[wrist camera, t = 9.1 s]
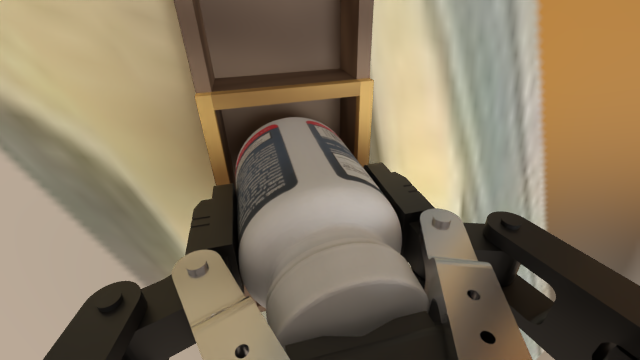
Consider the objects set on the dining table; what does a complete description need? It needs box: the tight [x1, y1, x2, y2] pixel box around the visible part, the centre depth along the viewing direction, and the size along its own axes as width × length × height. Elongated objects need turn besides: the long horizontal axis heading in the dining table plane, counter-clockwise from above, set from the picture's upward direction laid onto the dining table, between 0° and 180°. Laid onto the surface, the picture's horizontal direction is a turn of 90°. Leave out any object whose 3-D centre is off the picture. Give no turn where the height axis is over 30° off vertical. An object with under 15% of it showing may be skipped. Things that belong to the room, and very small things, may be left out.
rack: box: [174, 0, 374, 312], centre depth 16 cm, size 21×8×4 cm, turn 4°
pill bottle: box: [236, 117, 429, 352], centre depth 11 cm, size 5×5×9 cm
